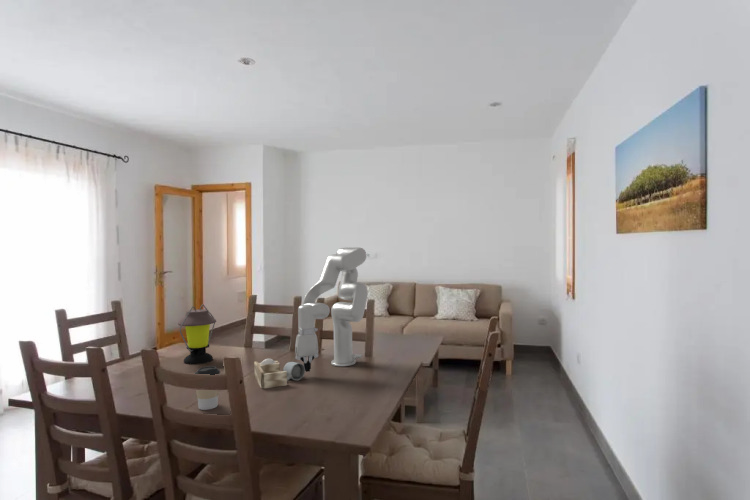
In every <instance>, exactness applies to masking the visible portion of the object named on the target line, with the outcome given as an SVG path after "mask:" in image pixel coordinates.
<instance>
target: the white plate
mask: <svg viewBox="0 0 750 500" xmlns="http://www.w3.org/2000/svg"><path fill="white" fill-rule="evenodd" d="M275 361H276V360H274V359H272V358H265V359H264V360H262V361H261V362H260V363H261V364H260V365H266V364H274V363H276V362H275Z"/></svg>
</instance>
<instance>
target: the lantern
mask: <svg viewBox="0 0 750 500" xmlns="http://www.w3.org/2000/svg"><path fill="white" fill-rule="evenodd" d="M202 307H203V308H202ZM216 323H217V319H216V318H215V317H214V315H213V314H212V313H211V312H210V311H209V309H208V308H207V307H206V306H205V305H204V304H201V305H200V307H199V309H198V308H197V309H196V307H195V306H191V308H190V309H189V310H187V311H186V313H185V315H184V317H183V318H182V319H181V320H180V321H178V323H177V325H178V326H180V327H179V334H180V336H181V337H182V339H183V342H184V344H185V346H186V349H187V350H188V352H190V353H189V354H188V355H187V356H186V357H184V359H183V364H185V365H200V364H201V365H202V364H206V363H210V362H212V361H213V359H214V358H213V357H214V356H213V355H212V354H211V353H209V352H207V348H210V344H209V343H210V341H211V337H212V334H213V330H214V327H215V324H216ZM211 325H212V327H211ZM182 327H185V334H186V339H187V341H186V339H185V337H184V335H183V333H182ZM211 328H212V329H211ZM210 329H211V330H210Z"/></svg>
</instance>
